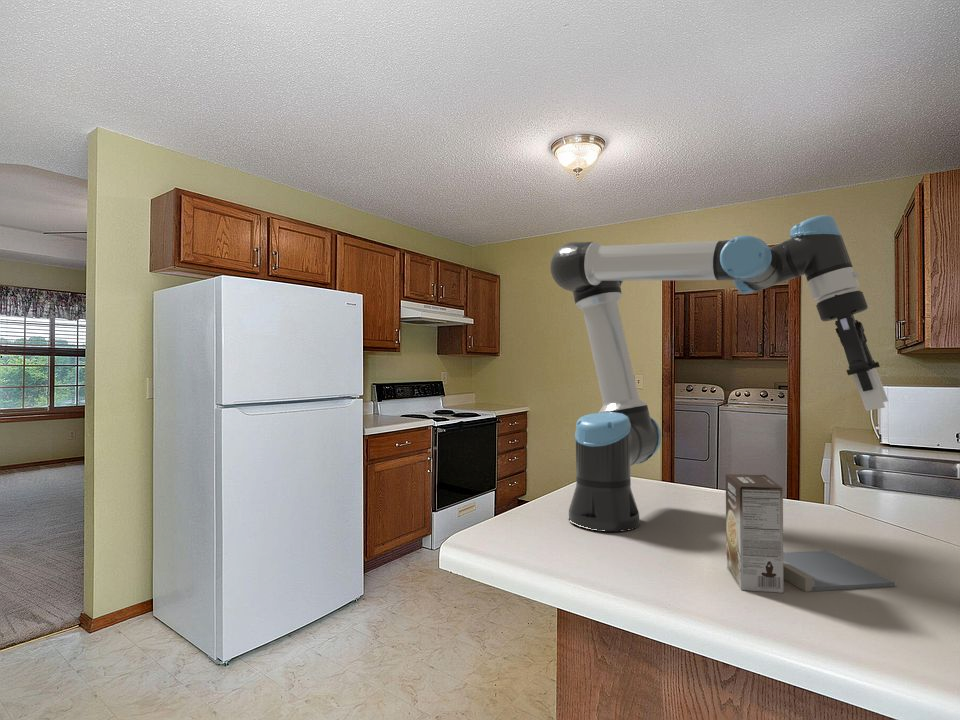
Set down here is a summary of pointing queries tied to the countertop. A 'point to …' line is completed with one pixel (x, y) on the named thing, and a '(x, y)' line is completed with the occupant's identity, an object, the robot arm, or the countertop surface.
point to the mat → (828, 572)
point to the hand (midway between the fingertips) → (877, 405)
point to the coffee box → (754, 532)
